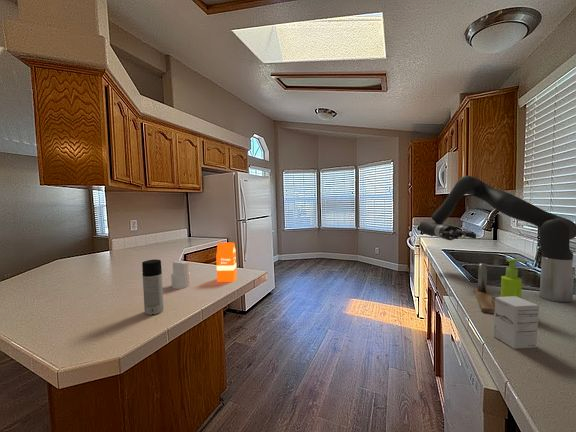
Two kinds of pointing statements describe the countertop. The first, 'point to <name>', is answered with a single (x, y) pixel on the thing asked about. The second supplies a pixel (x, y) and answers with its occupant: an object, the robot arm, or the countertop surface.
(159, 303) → the spray can
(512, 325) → the supplement box
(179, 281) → the white lidded jar
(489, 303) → the base with upright cylinder
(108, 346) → the countertop surface
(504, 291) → the soap dispenser
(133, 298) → the countertop surface
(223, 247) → the orange juice
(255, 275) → the countertop surface
